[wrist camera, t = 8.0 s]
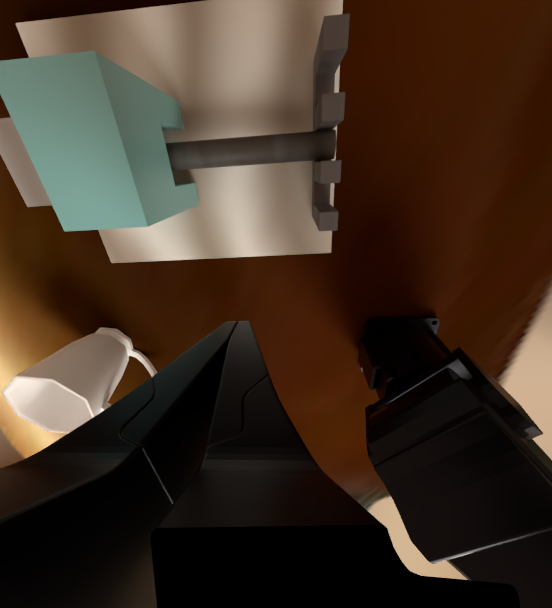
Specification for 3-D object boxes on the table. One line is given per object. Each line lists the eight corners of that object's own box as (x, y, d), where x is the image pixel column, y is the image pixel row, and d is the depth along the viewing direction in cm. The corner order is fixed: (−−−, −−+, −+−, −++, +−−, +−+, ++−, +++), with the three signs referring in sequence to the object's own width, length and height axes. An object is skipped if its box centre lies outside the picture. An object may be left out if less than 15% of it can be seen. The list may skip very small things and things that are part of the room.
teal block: (179, 101, 15) (94, 50, 8) (199, 204, 18) (147, 226, 11) (115, 107, 15) (-15, 62, 9) (145, 208, 18) (64, 231, 11)
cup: (82, 304, 24) (-3, 361, 17) (181, 344, 26) (141, 410, 19) (76, 353, 27) (2, 418, 20) (164, 385, 29) (125, 455, 22)
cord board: (339, -2, 14) (371, -108, 8) (329, 248, 20) (342, 276, 15) (34, 33, 15) (-105, -41, 10) (120, 258, 22) (65, 287, 16)
